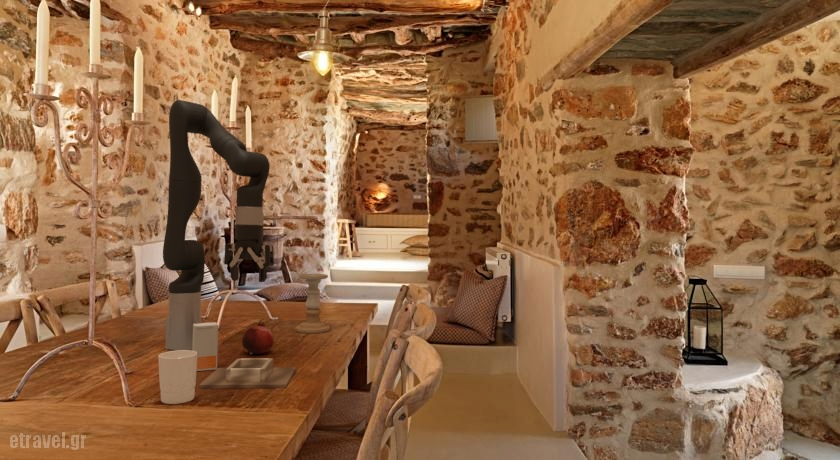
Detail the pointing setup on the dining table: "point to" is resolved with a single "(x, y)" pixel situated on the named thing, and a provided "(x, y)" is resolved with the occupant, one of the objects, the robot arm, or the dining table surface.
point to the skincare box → (206, 345)
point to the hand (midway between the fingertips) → (248, 281)
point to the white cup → (177, 376)
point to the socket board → (249, 375)
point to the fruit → (258, 339)
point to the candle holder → (313, 306)
